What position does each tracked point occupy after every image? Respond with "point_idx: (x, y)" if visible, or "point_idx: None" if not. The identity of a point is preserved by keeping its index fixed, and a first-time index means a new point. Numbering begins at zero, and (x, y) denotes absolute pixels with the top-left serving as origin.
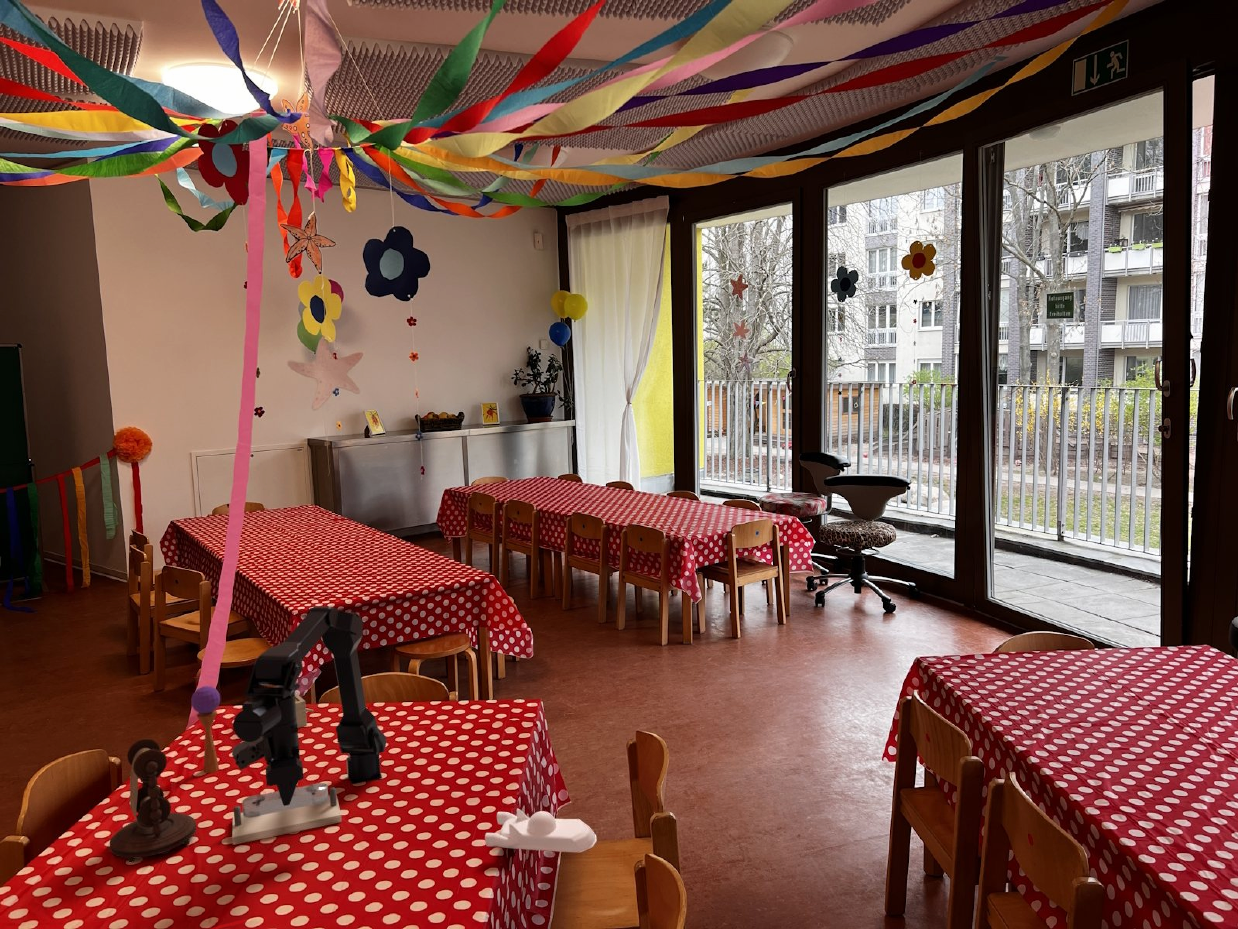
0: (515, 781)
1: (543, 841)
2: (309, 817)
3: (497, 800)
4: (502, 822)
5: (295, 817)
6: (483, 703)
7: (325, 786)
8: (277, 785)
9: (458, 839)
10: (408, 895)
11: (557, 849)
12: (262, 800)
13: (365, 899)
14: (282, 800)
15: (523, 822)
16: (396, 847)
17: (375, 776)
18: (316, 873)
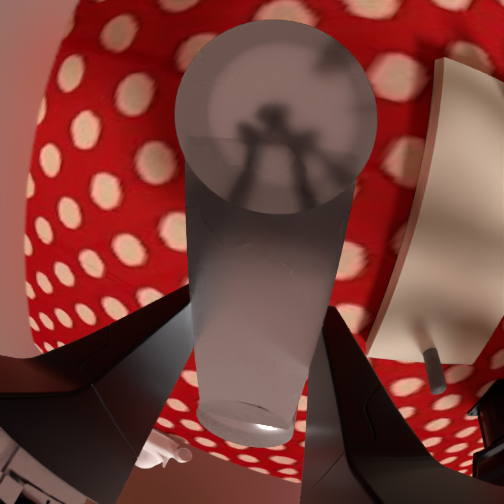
0: (301, 483)
1: None
2: (417, 296)
3: (265, 467)
4: (177, 450)
5: (447, 265)
6: None
7: (237, 441)
8: (49, 354)
9: (180, 418)
10: (62, 323)
11: None
12: (220, 183)
13: (56, 280)
14: (167, 297)
15: (156, 454)
16: (188, 372)
17: (479, 409)
18: (141, 236)
